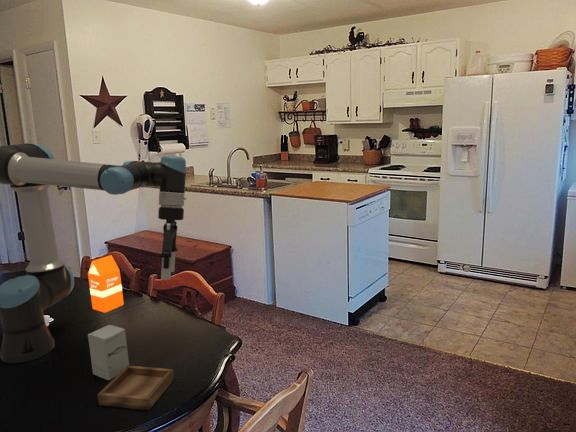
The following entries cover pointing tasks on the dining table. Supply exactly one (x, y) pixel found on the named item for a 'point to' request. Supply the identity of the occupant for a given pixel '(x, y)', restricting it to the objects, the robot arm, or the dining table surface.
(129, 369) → the tray
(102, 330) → the supplement box
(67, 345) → the dining table surface
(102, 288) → the orange juice
